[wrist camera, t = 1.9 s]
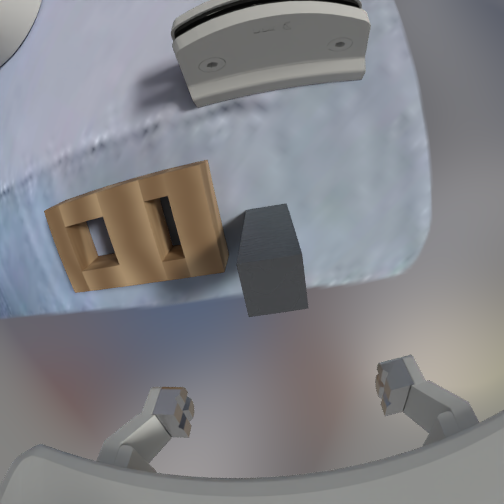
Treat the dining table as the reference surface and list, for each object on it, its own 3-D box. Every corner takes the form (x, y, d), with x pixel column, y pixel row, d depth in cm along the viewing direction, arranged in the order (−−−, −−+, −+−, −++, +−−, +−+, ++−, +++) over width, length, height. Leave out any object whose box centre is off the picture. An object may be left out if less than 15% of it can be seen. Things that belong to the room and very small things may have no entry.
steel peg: (253, 247, 31) (248, 316, 20) (246, 210, 29) (236, 264, 18) (292, 241, 30) (308, 308, 19) (286, 203, 29) (301, 253, 18)
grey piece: (193, 108, 25) (151, 56, 15) (188, 70, 25) (149, 13, 15) (365, 79, 23) (396, 20, 13) (350, 42, 23) (370, -21, 13)
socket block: (90, 276, 33) (75, 292, 29) (63, 200, 29) (43, 210, 25) (228, 254, 31) (224, 272, 27) (207, 159, 27) (198, 164, 23)
